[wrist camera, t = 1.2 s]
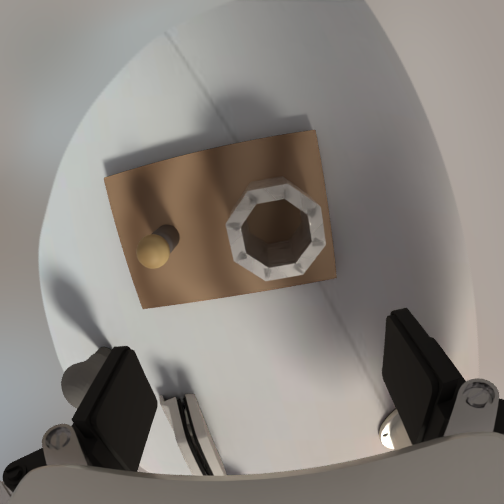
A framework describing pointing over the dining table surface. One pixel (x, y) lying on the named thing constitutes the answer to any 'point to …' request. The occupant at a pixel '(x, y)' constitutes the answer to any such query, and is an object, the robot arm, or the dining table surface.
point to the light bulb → (82, 376)
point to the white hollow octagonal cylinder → (284, 252)
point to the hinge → (192, 423)
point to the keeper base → (213, 218)
